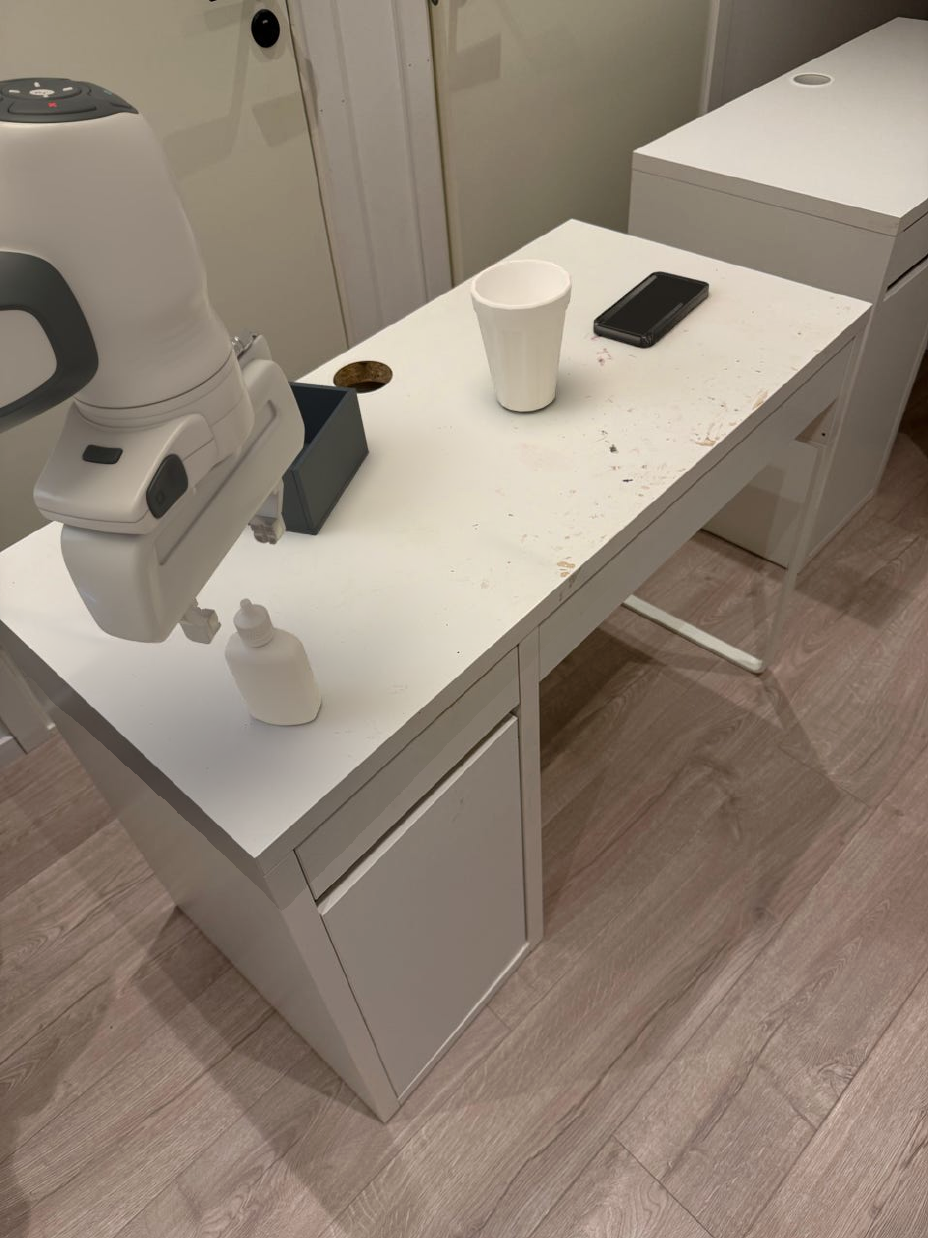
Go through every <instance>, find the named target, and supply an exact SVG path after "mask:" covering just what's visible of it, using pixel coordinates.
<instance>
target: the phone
mask: <svg viewBox="0 0 928 1238" xmlns="http://www.w3.org/2000/svg"><path fill="white" fill-rule="evenodd" d="M709 291H710V283H708V282H707V281H704V280H700V279H696V278H691V277H687V276H683V275H679V274H675V273H671V272H666V271H653V272H651V273H650V274H648V275H647V276H646V277H645V278H643V279H642V280H641V281H640V282H639V283H638V284H636V285H635V286H633V288H631V289H630V290H629V291H628V292H627V293H625V294H624V295H622V297H620V298H619V299H618V300H617V301H615V302H614V303H613V304H611V306H609V307H608V308H607V309H605V310H604V311H603V312H602V313H601V314H599V315H597V317H596V318H595V319H593V324H592V325H593V329H592V330H593V333H594V334H595V335H598V336H602V337H605V338H608V339H612V340H615V341H619V342H623V343H625V344H629V345H633V346H636V347H640V348H649V347H651V346H653V345H655V343H657V342H658V341H659V340H660V339H662V337H663V336H665V335H666V334H667V333H668V332H669V331H670V330H671V329H673V327H675V326H676V325H677V324H678V323H679V322H680V321H681V320H683V318H685V317H686V316H687V315H688V314H689V313H690V312H691V311H692V310H694V309H695V308H696V307H698V305H699V304H700V303H702V302H703V301H704V300H705V299H706V298H707V297H708V296H709Z"/></svg>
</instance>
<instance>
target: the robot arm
mask: <svg viewBox="0 0 928 1238" xmlns="http://www.w3.org/2000/svg"><path fill="white" fill-rule="evenodd" d="M197 233H198V232H197V231H196V228H195V225H194V222H193V219H192V215H191V214H190V211H189V207H188V205H187V202H186V200H185V198H184V195H183V192H182V189H181V187H180V185H179V182H178V180H177V177H176V175H175V172H174V170H173V168H172V166H171V163H170V161H169V159H168V156H167V154H166V153H165V150H164V148H163V146H162V144H161V143H160V140H159V138H158V137H157V135H156V133H155V131H154V130H153V128H152V126H151V125H150V123H149V122H148V121H147V119H146V118H145V116H144V115H143V114H142V112H140V111H139V110H138V109H137V108H136V107H134V106H133V105H132V104H130V103H129V102H128V101H126V100H125V99H124V98H122V97H121V96H119V95H118V94H116V93H114V92H112V91H110V90H109V89H106V88H105V87H102V86H100V85H97V84H95V83H92V82H89V81H83V80H80V81H79V80H73V79H70V78H64V77H43V76H42V77H36V76H35V77H19V78H18V77H17V78H10V79H4V80H0V435H1V434H4V433H6V432H8V431H10V430H12V429H14V428H17V427H18V426H21V425H23V424H24V423H27V422H28V421H30V420H32V419H34V418H36V417H38V416H40V415H42V414H44V413H46V412H48V411H50V410H51V409H54V408H55V407H57V406H59V405H60V404H62V403H63V402H65V401H67V400H68V399H70V398H72V402H71V404H70V406H69V407H68V410H67V411H66V415H65V418H64V422H63V424H62V428H61V430H60V433H59V435H58V438H57V440H56V442H55V445H54V446H53V449H52V452H51V453H50V455H49V457H48V459H47V460H46V463H45V465H44V466H43V468H42V471H41V472H40V475H39V476H38V478H37V480H36V481H35V484H34V488H33V492H32V496H33V498H32V499H33V501H34V505H35V506H36V508H37V509H38V511H39V512H40V514H41V515H42V516H43V517H44V518H45V519H47V520H50V521H53V522H57V523H60V524H62V528H61V531H60V540H59V541H60V550H61V556H62V559H63V563H64V565H65V567H66V571H67V572H68V575H69V576H70V578H71V581H72V583H73V585H74V587H75V589H76V591H77V593H78V595H79V596H80V598H81V600H82V602H83V604H84V605H85V607H86V610H87V611H88V613H89V614H90V616H91V617H92V619H93V620H94V622H95V624H96V625H97V626H98V627H99V628H100V630H101V631H102V632H104V633H105V634H107V635H109V636H111V637H115V638H117V639H121V640H124V641H125V640H126V641H130V642H135V643H143V644H161V643H164V642H165V641H166V640H167V639H168V638H169V637H170V636H171V634H172V632H173V631H174V629H175V628H176V627H177V625H178V624H179V626H180V628H181V629H182V631H183V633H184V636H185V637H186V638H187V640H189V641H191V642H193V643H196V644H197V643H198V644H203V645H211V643H212V641H213V640H214V639H215V636H217V634H218V632H219V630H220V629H221V627H222V624H221V621H219V616H218V614H217V612H216V610H215V609H211V608H202V609H201V607H199V601H198V599H197V597H198V596H199V594H200V593H201V591H202V590H203V589H204V587H205V586H206V584H207V583H208V581H209V580H210V579H211V577H212V576H213V575H214V574H215V572H216V570H217V569H218V567H219V566H220V565H221V563H222V562H223V560H224V559H225V557H226V556H227V555H228V554H229V552H230V550H231V549H232V548H233V547H234V546H235V543H236V542H237V541H238V539H239V538H240V537H241V535H242V534H243V533H244V531H245V529H246V528H247V527H248V524H250V525H249V527H250V530H251V531H252V532H253V538H254V540H255V541H256V542H258V543H260V544H267V543H268V544H269V545H272V546H274V545H276V544H278V542H279V541H280V539H281V538H282V536H283V535H284V534H285V532H286V531H287V530H286V527H285V524H284V520H283V517H282V514H281V512H282V502H283V488H284V483H283V480H282V476H283V474H284V473H285V472H286V470H287V469H288V467H289V466H290V465H291V463H292V462H293V460H294V459H295V458H296V456H297V455H298V453H299V452H300V451H301V449H302V447H303V444H304V432H305V428H304V423H303V420H302V417H301V414H300V411H299V408H298V405H297V403H296V400H295V398H294V395H293V393H292V390H291V388H290V385H289V383H288V379H287V377H286V375H285V373H284V371H283V369H282V368H281V366H280V365H279V364H278V363H276V362H275V361H274V360H273V357H272V356H271V352H270V348H269V344H268V341H267V339H266V338H265V336H264V335H263V334H260V332H258V331H257V330H254V329H247V328H240V329H238V330H236V331H235V332H234V333H233V334H232V335H230V333H229V330H228V328H227V326H226V325H225V324H224V322H223V320H222V319H221V318H220V316H219V315H218V313H217V311H216V310H215V308H214V306H213V303H212V301H211V297H210V294H209V287H208V268H207V261H206V258H205V255H204V252H203V248H202V246H201V242H200V240H199V237H198V234H197ZM251 519H252V520H251ZM249 522H250V523H249Z"/></svg>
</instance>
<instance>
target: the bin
mask: <svg viewBox="0 0 928 1238" xmlns="http://www.w3.org/2000/svg"><path fill="white" fill-rule="evenodd" d="M287 381H288V380H287ZM288 383H289V385H290V388H291V390H292V393H293V395H294V398H295V400H296V403H297V405H298V408H299V411H300V414H301V417H302V420H303V423H304V428H305V432H304V444H303V447H302V449H301V451H300V452H299V453H298V455H297V456H296V458H295V459H294V460H293V462H292V463H291V465H290V466H289V467H288V469H287V470H286V472H285V473H284V474H283V476H282V480H283V483H284V488H283V502H282V512H281V514H282V517H283V520H284V524H285V527H286V530H285V531H288V532H293V533H300V534H306V535H311V536H312V535H313V536H317V534H318V533H319V531H320V529H321V528H322V527H323V525H324V523H325V522H326V520H327V519H328V518H329V516H330V514H331V512H332V511H333V510H334V508H335V506H336V504H337V503H338V501H339V500H340V498H341V497H342V495H344V494H343V493H344V492H345V491H346V489H347V487H348V485H349V484H350V483H351V481H352V480H353V478H354V477H355V475H356V473H357V472H358V470H359V468H360V467H361V465H362V464H363V462H364V461H365V459H366V458H367V456H368V454H369V453H370V450H369V445H368V440H367V436H366V432H365V427H364V422H363V421H364V420H363V417H362V413H361V407H360V403H359V397H358V393H357V389H356V387H347V386H337V385H336V386H335V385H326V384H317V383H308V382H297V381H288ZM251 520H252V519H251ZM249 523H250V522H249ZM248 525H249V526H250V524H248ZM248 525H247V526H248Z"/></svg>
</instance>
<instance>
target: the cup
mask: <svg viewBox="0 0 928 1238" xmlns="http://www.w3.org/2000/svg"><path fill="white" fill-rule="evenodd" d="M572 287H573V283H572V275H571V274H570V273H569V272H568V271H567V270H565V268H563V266H561V265H558V264H555V263H553V262H550V261H547V260H539V259H531V258H530V259H529V258H528V259H515V260H509V261H505V262H501V263H497V264H493V265H492V266H489V267H488V268H486V269H484V270H482V271H480V272H479V273H478V274H477V276H475V278H474V279H473V280H472V281H471V282H470V290H469V291H470V297H471V298H470V299H471V302H472V307H473V310H474V312H475V314H476V318H477V322H478V326H479V331H480V334H481V339H482V342H483V347H484V350H485V355H486V359H487V362H488V366H489V371H490V375H491V379H492V383H493V387H494V391H495V395H496V400H497V402H498V403H499V404H500V405H501V406H502V407H504V408H506V409H508V410H509V411H515V412H534V411H537V410H540V409H543V408H545V407H546V406H548V405H549V404H551V403H552V402H553V401H554V399H555V398H556V389H557V381H558V372H559V366H560V357H561V349H562V344H563V343H562V341H563V335H564V328H565V320H566V311H567V310H568V308H569V305H570V303H571V297H572Z"/></svg>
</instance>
